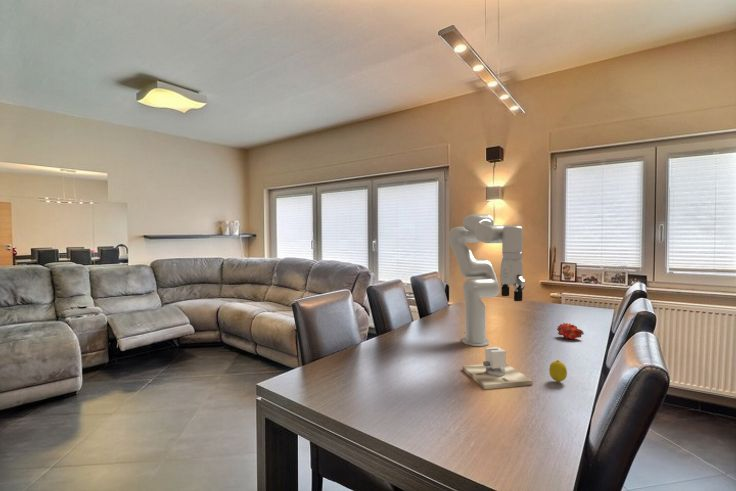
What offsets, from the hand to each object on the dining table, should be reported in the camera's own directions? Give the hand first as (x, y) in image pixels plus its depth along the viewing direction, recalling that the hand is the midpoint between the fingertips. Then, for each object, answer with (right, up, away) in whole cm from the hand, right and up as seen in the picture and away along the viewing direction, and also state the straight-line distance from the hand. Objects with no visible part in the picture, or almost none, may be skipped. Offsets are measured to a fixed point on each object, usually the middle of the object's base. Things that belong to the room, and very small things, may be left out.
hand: (511, 298), depth 142 cm
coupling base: (-11, -28, -12) cm, 32 cm away
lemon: (+9, -28, -17) cm, 34 cm away
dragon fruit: (+43, -26, +34) cm, 61 cm away
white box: (-12, -23, -12) cm, 29 cm away
